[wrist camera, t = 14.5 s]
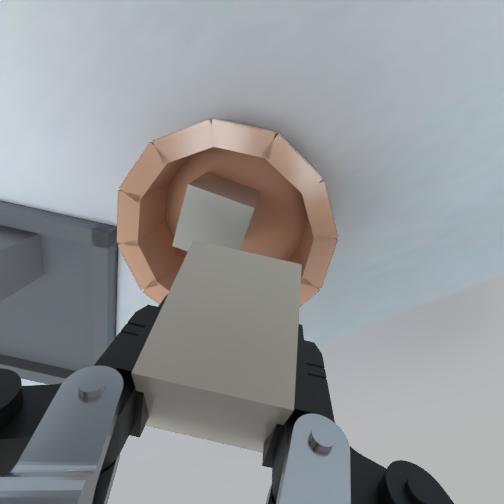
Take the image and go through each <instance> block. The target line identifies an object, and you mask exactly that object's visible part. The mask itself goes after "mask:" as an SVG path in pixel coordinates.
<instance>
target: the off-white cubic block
mask: <svg viewBox="0 0 504 504" xmlns="http://www.w3.org/2000/svg"><path fill="white" fill-rule="evenodd" d="M301 267H302V264H298V263H293V262H289V261H284V260H280V259H276V258H271V257H267V256H262V255H258V254H253V253H249V252H245V251H240V250H236V249H231V248H227V247H222V246H218V245H214V244H209V243H205V242H200V241H196V240H193V242H192V244H191V246H190V248H189V250H188V253H187V255H186V257H185V259H184V261H183V263H182V265H181V268H180V270H179V272H178V274H177V276H176V278H175V280H174V283H173V285H172V287H171V289H170V291H169V293H168V295H167V298H166V300H165V302H164V304H163V306H162V308H161V310H160V313H159V315H158V317H157V319H156V321H155V323H154V325H153V328H152V330H151V332H150V334H149V336H148V338H147V340H146V343H145V345H144V347H143V349H142V351H141V353H140V355H139V358H138V360H137V362H136V364H135V366H134V368H133V370H132V373H131V374H132V377H133V381H134V385H135V388H136V391H139V392H144V396H145V401H146V405H147V410H148V414H149V418H148V420H147V422H146V424H145V425H146V426H150V427H154V428H158V429H163V430H167V431H171V432H176V433H180V434H184V435H189V436H193V437H198V438H202V439H206V440H211V441H215V442H219V443H223V444H228V445H232V446H236V447H241V448H245V449H250V450H254V451H258V452H263V445H264V442H265V440H266V439H267V438H268V436H269V435H270V433H271V432H272V430H273V429H274V427H275V426H276V424H281V425H284V424H285V422H286V421H287V419H288V418H289V417H290V415H291V414H292V413H293V411H294V402H295V383H296V364H297V344H298V325H299V306H300V287H301Z"/></svg>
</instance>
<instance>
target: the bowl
mask: <svg viewBox="0 0 504 504" xmlns="http://www.w3.org/2000/svg"><path fill="white" fill-rule="evenodd" d="M206 172H210V173H213V174H215V175H218V176H221V177H224V178H226V179H229V180H232V181H235V182H237V183H240V184H243V185H246V186H248V187H251V188H254V189H257V190H259V191H260V193H259V196H258V200H257V203H256V206H255V209H254V212H253V215H252V218H251V221H250V223H249V226H248V229H247V232H246V235H245V237H244V240H243V243H242V246H241V248H240V251H245V252H249V253H253V254H258V255H262V256H267V257H271V258H276V259H280V260H284V261H289V262H293V263H298V264H302V267H301V287H300V306H302V305H303V304H304V303H305V302H306V301H308V300H309V299H310V298H311V297H312V296H313V295H315V294H316V293H317V292H318V291H319V288H321V287H322V284H323V281H324V278H325V275H326V272H327V270H328V267H329V264H330V261H331V258H332V255H333V252H334V249H335V246H336V243H337V240H338V239H337V237H338V235H337V231H336V227H335V223H334V218H333V214H332V210H331V206H330V202H329V198H328V194H327V189H326V185H325V181H324V180H323V178H322V177H321V175H320V174H319V173H318V172H317V170H316V169H315V168H314V167H313V166H312V165H311V164H310V163H309V162H308V161H307V160H306V159H305V158H304V157H303V156H302V155H301V154H300V153H299V152H298V151H297V150H296V149H295V148H294V147H293V146H292V145H291V144H290V143H289V142H288V141H287V140H286V139H285V138H284V137H283V136H282V135H281V134H280V133H278V134H277V135H276V131H273V130H268V129H264V128H259V127H255V126H251V125H246V124H242V123H237V122H233V121H228V120H218V119H208V120H205V121H203V122H200V123H198V124H195V125H192V126H190V127H187V128H184V129H182V130H179V131H176V132H174V133H171V134H168V135H166V136H163V137H161V138H158V139H155V140H153V142H150V143H149V145H148V146H147V148H146V149H145V151H144V152H143V154H142V155H141V156H140V158H139V159H138V161H137V162H136V164H135V165H134V167H133V168H132V169H131V171H130V172H129V174H128V175H127V177H126V178H125V180H124V181H123V183H122V184H121V185H120V187H119V188H120V189H121V190H118V210H117V243H120V244H118V247H119V249H120V251H121V253H122V255H123V257H124V259H125V261H126V263H127V265H128V266H129V268H130V270H131V272H132V274H133V276H134V278H135V280H136V282H137V284H138V286H139V287H140V289H141V290H142V289H144V291H143V293H145V294H146V295H147V296H149V297H150V298H151V299H153V300H154V301H155V302H157V303H158V304H159V305H160V303H161V302H162V301H163V299H164V298H165V296H166V295H167V294H168V293H169V291H170V289H171V287H172V285H173V283H174V280H175V278H176V276H177V274H178V272H179V270H180V268H181V265H182V263H183V261H184V259H185V257H186V255H187V253H188V251H185V250H182V249H179V248H177V247H174V246H172V245H173V241H174V237H175V233H176V229H177V225H178V221H179V217H180V213H181V209H182V205H183V201H184V197H185V194H186V190H187V186H188V184H189V183H191V182H192V181H194V180H195V179H197V178H198V177H200V176H201V175H203V174H205V173H206ZM300 306H299V307H300Z"/></svg>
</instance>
